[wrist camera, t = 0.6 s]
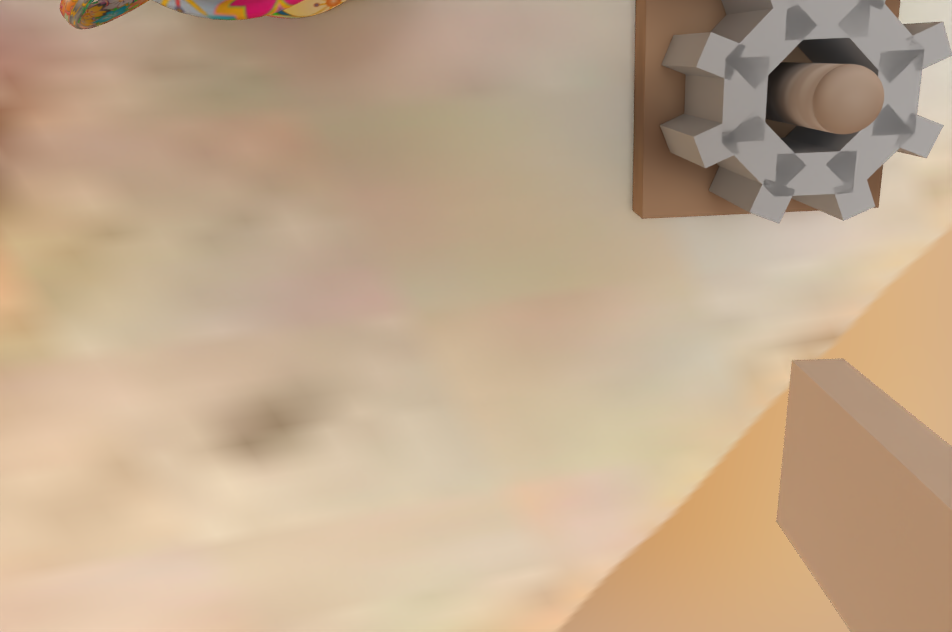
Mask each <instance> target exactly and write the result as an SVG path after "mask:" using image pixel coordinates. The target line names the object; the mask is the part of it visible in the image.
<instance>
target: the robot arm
mask: <svg viewBox="0 0 952 632" xmlns="http://www.w3.org/2000/svg"><path fill="white" fill-rule="evenodd" d="M776 521H777V523H778V525H779V526H780V528H781V529H782V531H783V532H784V534H785V535H786V537H787V538H788V540H789V541H790V542H791V544H792V545H793V547H794V548H795V550H796V551H797V553H798V554H799V556H800V557H801V559H802V560H803V562H804V563H805V565H806V566H807V568H808V569H809V571H810V572H811V574H812V575H813V576H814V578H815V579H816V581H817V582H818V584H819V585H820V587H821V588H822V590H823V591H824V593H825V594H826V596H827V597H828V599H829V600H830V602H831V603H832V605H833V606H834V608H835V609H836V611H837V612H838V614H839V615H840V616H841V618H842V619H843V621H844V622H845V624H846V625H847V627H848V628H849V630H850V631H851V632H952V447H951V446H950V445H949V444H948V443H947V442H945V441H944V440H943V439H942V438H940V437H939V436H938V435H937V434H935V433H934V432H933V431H932V430H931V429H929V428H928V427H927V426H926V425H924V424H923V423H922V422H921V421H919V420H918V419H917V418H916V417H915V416H913V415H912V414H911V413H910V412H908V411H907V410H906V409H905V408H903V407H902V406H901V405H900V404H898V403H897V402H896V401H895V400H893V399H892V398H891V397H890V396H888V395H887V394H886V393H885V392H884V391H882V390H881V389H880V388H879V387H877V386H876V385H875V384H874V383H872V382H871V381H870V380H869V379H868V378H866V377H865V376H864V375H863V374H861V373H860V372H859V371H858V370H857V369H855V368H854V367H853V366H851V365H850V364H849V363H848V362H847V361H845V360H844V359H817V360H792V366H791V376H790V387H789V397H788V407H787V418H786V429H785V438H784V448H783V459H782V469H781V480H780V490H779V500H778V510H777V520H776Z"/></svg>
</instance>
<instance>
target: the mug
mask: <svg viewBox="0 0 952 632" xmlns="http://www.w3.org/2000/svg"><path fill="white" fill-rule="evenodd" d="M93 1H94V0H61V3H60V11H61V13H62V15H63V17H64V18H65V19H66V21H67V22H68V23H69V24H71V25H72V26H73V27H75V28H77V29H89V28H93V27H96V26H99V25H102V24H105V23H107V22H109V21H112V20H114V19H116V18H118V17H120V16H122V15H124V14H126V13H128V12H130V11H132V10H133V9H135V8H137V7H139V6H140V5H142V4H144V3H145V2H147V1H149V0H98V1H96V2H93ZM153 1H155V2H157V3H159V4H161V5H163V6H166V7H168V8H171V9H174V10H176V11H179V12H182V13H186V14H189V15H193V16H197V17H203V18H210V19H220V20H242V19H251V18H257V17H262V16H271V17H277V18H302V17H309V16H313V15H317V14H320V13H323V12H325V11H328V10H330V9H332V8H334V7H336V6H338V5H340V4H341V3H343V2H345V1H346V0H153ZM92 2H93V3H92Z"/></svg>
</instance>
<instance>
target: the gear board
mask: <svg viewBox="0 0 952 632" xmlns="http://www.w3.org/2000/svg"><path fill="white" fill-rule="evenodd" d="M885 4H886V6H887V7H888V8H889V9H890V10H891V11H892V13H893V14H894V15H895V16H896V17H897V18H898V17H899V8H900V0H886V1H885ZM725 16H726V12H725V9H724V6H723V3H722V1H721V0H636V22H635V89H634V156H633V211H634V212H636V213H637V214H638V215H639V216H640V217H641V218H642V219H644V218H665V217H687V216H708V215H730V214H751V213H749V212H747V211H746V210H744V209H742V208H740V207H738V206H736V205H734V204H733V203H731V202H729V201H727V200H725V199H723V198H722V197H720V196H718V195H716V194H714V193H712V192H710V191H709V189H710V186H711V184H712V182H713V180H714V177H715V175H716V173H717V171H718V168H719V165H718V164H717V163H716V164H714V165H712V166H709V167H707V168H704V167H701V166H699V165H697V164H695V163H693V162H691V161H688V160H686V159H684V158H682V157H680V156H677V155H675V154H673V153H671V152H670V150H669V148H668V145H667V143H666V140H665V137H664V135H663V132H662V130H661V127H660V125H661V124H663V123H665V122H667V121H670V120H672V119H674V118H676V117H678V116H680V115H682V114H684V107H685V77H686V75H685V74H683V73H680V72H678V71H675V70H672V69H670V68H667V67H665V66H662V65H661V64H662V62H663V59H664V57H665V55H666V52H667V50H668V47H669V45H670V42H671V40H672V38H673V35H681V34H693V33H705V32H711V31H712V30H713V29H714V28H715V26H716V25H717V24H718V23H719V22H720V21H721V20H722V19H723V18H724V17H725ZM883 103H884V89H883V85H882V82H881V81H880V79H879V78H878V76H877V75H876V74H875V73H874V72H873V71H872V70H870V69H868V68H866V67H864V66H861V65H856V64H832V63H813V62H812V61H811V60H810V59H809V58H808V57H807V56H806V55H805V54H804V52H803V51H802V50H801V49H800V48H799V47H798V46H796V47H795V48H794V49H793V50H792V51H791V53H790V54H789V55H788V56H787V57H786V58H785V59H784V60H783V61H782V62H781V63H780V64H779V65H778V66H777V67H776V68H775V69H774V70H773V71H772V72H771V73H770V74H769V75H768V86H767V103H766V119H765V123H766V124H767V125H768V126H769V127H770V128H771V129H772V130H773V131H774V132H775V133H776V134H777V135H778V136H779V137H780V138H785V137H786V136H787V135H788V134H789V133H790V132H791V131H792V130H793V129H794V128H795V127H796V126H802V127H806V128H811V129H816V130H821V131H825V132H830V133H835V134H851V133H855V132H858V131H861V130H862V129H864V128H866V127H867V126H869V125H870V124H871V123H872V122H873V121H874V120H875V119H876V118H877V116H878V115H879V113H880V111H881V109H882V106H883ZM882 169H883V165H882V166H881V167H879V168H878V169H877V170H876V171H875V172H874V173H873V174H872V175H871V176H870V177H869V178H868V179H867V182H868V185H869V188H870V191H871V194H872V197H873V201H874V204H875V207H873V208H878V207H879V197H880V188H881V178H882ZM815 210H818V209H815V208H813V207H811V206H808V205H806V204H804V203H801V202H799V201H797V200H794V199H792V198H791V200H790V202H789V204H788V206H787V208H786V210H785V212H794V211H815Z"/></svg>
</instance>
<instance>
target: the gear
mask: <svg viewBox="0 0 952 632" xmlns="http://www.w3.org/2000/svg"><path fill="white" fill-rule="evenodd" d="M721 1H722V3H723V6H724V9H725V12H726V16H725V17H724V18H723V19H722V20H721V21H720V22H719V23H718V24H717V25H716V26H715V28H714V29H713V30H712V31H711V32H705V33H693V34H681V35H673V38H672V40H671V42H670V45H669V47H668V50H667V52H666V55H665V57H664V59H663V62H662V64H661V65H662V66H665V67H667V68H670V69H672V70H675V71H678V72H680V73H683V74H685V75H686V77H685V107H684V114H682V115H680V116H678V117H676V118H674V119H672V120H670V121H667V122H665V123H663V124H661V125H660V127H661V130H662V132H663V135H664V137H665V140H666V143H667V145H668V148H669V150H670V152H671V153H673V154H675V155H677V156H680V157H682V158H684V159H686V160H688V161H691V162H693V163H695V164H697V165H699V166H701V167H704V168H707V167H709V166H712V165H714V164H716V163H717V164H718V165H719V168H718V171H717V173H716V175H715V177H714V180H713V182H712V184H711V186H710V189H709V191H710V192H712V193H714V194H716V195H718V196H720V197H722V198H723V199H725V200H727V201H729V202H731V203H733V204H734V205H736V206H738V207H740V208H742V209H744V210H746V211H747V212H749V213H752V214H755V215H757V216H760V217H763V218H765V219H768V220H771V221H773V222H776V223H780V221H781V219H782V217H783V215H784V213H785V210H786V208H787V206H788V204H789V202H790V200H791V198H792V199H794V200H797V201H799V202H801V203H804V204H806V205H808V206H811V207H813V208H815V209H818V210H820V211H822V212H825V213H827V214H829V215H832V216H834V217H836V218H839V219H841V220H843V221H844V220H846V219H848V218H851V217H853V216H855V215H857V214H860V213H862V212H864V211H867V210H869V209H871V208H873V207H875V204H874V201H873V197H872V194H871V191H870V188H869V185H868V182H867V179H868V178H869V177H870V176H871V175H872V174H873V173H874V172H875V171H876V170H877V169H878V168H879V167H881V166H882V165H883V164H884V163H885V162H886V161H887V160H888V159H889V158H890V157H891V156H892V155H893V154H894V153H895V152H896V151H897V152H901V153H906V154H910V155H915V156H920V157H924V158H927V156H928V154H929V153H930V151H931V149H932V147H933V145H934V143H935V141H936V139H937V137H938V135H939V133H940V131H941V129H942V127H943V126H944V125H941V124H939V123H936V122H934V121H931V120H929V119H926V118H924V117H921V116H919V115H917V109H918V101H919V92H920V84H921V75H922V69H924V68H926V67H928V66H930V65H933V64H935V63H937V62H939V61H941V60H944V59H946V58H948V57H950V56H952V52H951V49H950V45H949V41H948V38H947V34H946V30H945V27H944V23H943V22H930V23H915V24H902V23H901V22H900V21H899V19H898V18H897V17H896V16H895V15H894V14H893V13H892V11H891V10H890V9H889V8H888V7H887V6H886V4H885V1H886V0H721ZM796 46H798V47H799V48H800V49H801V50H802V51H803V52H804V54H805V55H806V56H807V57H808V58H809V59H810V60H811V61H812V62H813V63H832V64H856V65H861V66H864V67H866V68H868V69H870V70H872V71H873V72H874V73H875V74H876V75H877V76H878V78H879V79H880V81H881V82H882V85H883V89H884V103H883V106H882V109H881V111H880V113H879V115H878V116H877V118H876V119H875V120H874V121H873V122H872V123H871V124H870V125H869V126H867V127H866V128H864V129H862V130H861V131H858V132H855V133H851V134H835V133H830V132H825V131H821V130H816V129H811V128H806V127H802V126H796V127H795V128H794V129H793V130H792V131H791V132H790V133H789V134H788V135H787V136H786V137H785V138H780V137H779V136H778V135H777V134H776V133H775V132H774V131H773V130H772V129H771V128H770V127H769V126H768V125H767V124H766V123H765V119H766V103H767V86H768V75H769V74H770V73H771V72H772V71H773V70H774V69H775V68H776V67H777V66H778V65H779V64H780V63H781V62H782V61H783V60H784V59H785V58H786V57H787V56H788V55H789V54H790V53H791V51H792V50H793V49H794V48H795V47H796Z"/></svg>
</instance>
